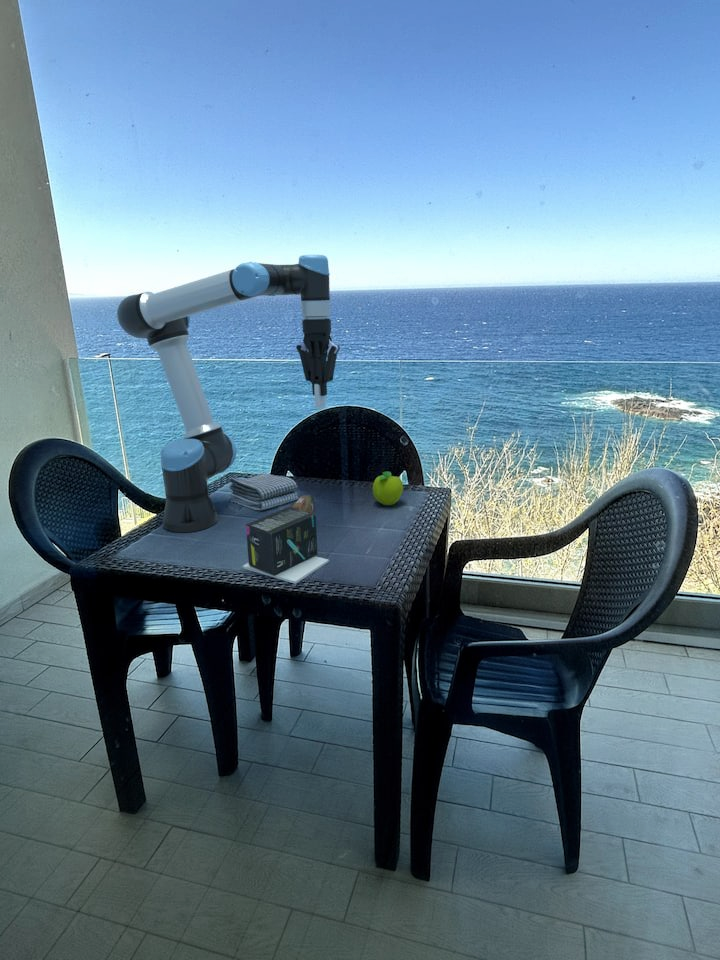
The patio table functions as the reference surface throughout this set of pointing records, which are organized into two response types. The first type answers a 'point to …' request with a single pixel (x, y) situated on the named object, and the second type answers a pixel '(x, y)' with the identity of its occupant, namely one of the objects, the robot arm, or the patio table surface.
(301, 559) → the tampon box
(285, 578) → the mat
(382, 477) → the fruit
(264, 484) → the towel
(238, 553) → the patio table surface
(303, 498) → the tin
